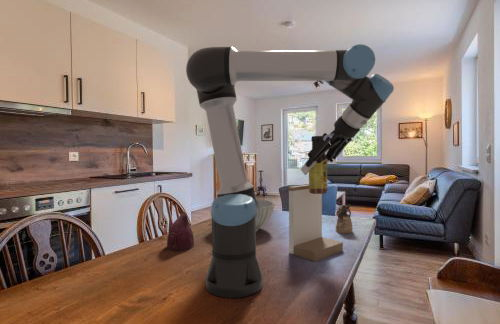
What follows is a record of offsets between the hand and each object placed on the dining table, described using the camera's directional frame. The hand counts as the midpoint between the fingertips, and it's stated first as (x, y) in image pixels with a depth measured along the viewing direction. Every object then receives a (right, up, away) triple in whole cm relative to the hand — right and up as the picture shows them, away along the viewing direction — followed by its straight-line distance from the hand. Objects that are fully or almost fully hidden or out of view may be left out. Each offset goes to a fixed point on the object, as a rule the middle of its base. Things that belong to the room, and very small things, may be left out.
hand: (309, 171), depth 106 cm
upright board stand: (+2, -28, -1) cm, 28 cm away
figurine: (+20, -27, +25) cm, 43 cm away
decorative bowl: (-24, -28, +29) cm, 47 cm away
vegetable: (-48, -29, +6) cm, 56 cm away
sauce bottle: (+2, -8, -3) cm, 8 cm away
